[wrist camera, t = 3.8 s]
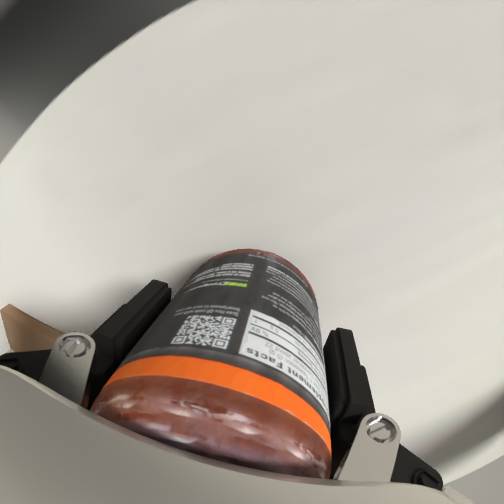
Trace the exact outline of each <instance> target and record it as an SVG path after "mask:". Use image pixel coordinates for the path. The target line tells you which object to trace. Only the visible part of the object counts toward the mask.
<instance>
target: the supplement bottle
mask: <svg viewBox="0 0 504 504" xmlns="http://www.w3.org/2000/svg"><path fill="white" fill-rule="evenodd" d="M90 411H91V412H93V413H95V414H97V415H99V416H101V417H103V418H105V419H107V420H109V421H111V422H113V423H115V424H118V425H120V426H122V427H124V428H126V429H129V430H131V431H133V432H136V433H138V434H141V435H143V436H146V437H148V438H151V439H153V440H156V441H159V442H161V443H164V444H167V445H169V446H172V447H175V448H178V449H181V450H184V451H187V452H190V453H194V454H197V455H200V456H204V457H207V458H211V459H214V460H218V461H222V462H226V463H230V464H234V465H238V466H243V467H247V468H252V469H257V470H262V471H268V472H273V473H279V474H286V475H293V476H301V477H310V478H320V479H330V474H331V463H332V459H331V439H330V418H329V407H328V394H327V383H326V373H325V364H324V355H323V345H322V337H321V328H320V321H319V313H318V307H317V303H316V298H315V294H314V292H313V289H312V287H311V285H310V284H309V282H308V281H307V279H306V278H305V276H304V275H303V274H302V273H301V272H300V271H299V270H298V269H297V268H296V267H295V266H294V265H292V264H291V263H290V262H289V261H287V260H285V259H284V258H282V257H280V256H278V255H276V254H274V253H270V252H265V251H261V250H255V249H237V250H233V251H228V252H224V253H222V254H219V255H217V256H215V257H213V258H211V259H210V260H208V261H207V262H206V263H204V264H203V265H202V266H201V267H200V268H199V269H198V270H197V271H196V272H195V273H194V274H193V275H192V276H191V277H190V279H189V280H188V281H187V282H186V283H185V284H184V286H183V287H182V288H181V289H180V290H179V292H178V293H177V294H176V295H175V297H174V298H173V299H172V300H171V302H170V303H169V304H168V305H167V307H166V308H165V309H164V310H163V311H162V313H161V314H160V315H159V317H158V318H157V319H156V320H155V321H154V322H153V324H152V325H151V326H150V328H149V329H148V330H147V331H146V332H145V334H144V335H143V336H142V337H141V339H140V340H139V341H138V343H137V344H136V345H135V346H134V348H133V349H132V350H131V351H130V353H129V354H128V355H127V356H126V358H125V359H124V360H123V362H122V363H121V364H120V366H119V367H118V368H117V370H116V371H115V372H114V374H113V375H112V376H111V378H110V379H109V380H108V382H107V383H106V384H105V386H104V387H103V388H102V390H101V392H100V394H99V395H98V397H97V398H96V399H95V401H94V403H93V405H92V407H91V409H90Z"/></svg>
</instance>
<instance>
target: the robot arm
mask: <svg viewBox="0 0 504 504" xmlns="http://www.w3.org/2000/svg"><path fill="white" fill-rule="evenodd" d="M171 293H172V290H171V288H168V284H167V283H164V282H161V281H158V280H152V281H151V282H150V283H149V284H148V285H147V286H145V287H144V288H143V289H142V290H141V291H140V292H139V293H138V294H137V295H136V296H135V297H134V298H132V299H131V300H130V301H129V302H128V303H127V304H124V305H122V306H121V307H120V308H119V309H118V310H117V311H116V312H115V313H114V314H113V315H112V316H111V317H110V318H108V319H107V320H106V321H105V322H104V323H103V324H102V325H101V326H100V327H99V328H98V329H97V330H96V331H95V332H94V333H93V334H92V335H91V336H89V335H87V334H85V333H81V332H69V333H66V334H63V335H61V336H60V337H59V338H58V339H57V340H56V341H55V343H54V346H53V348H52V349H47V350H36V351H24V352H10V353H5V354H3V355H1V356H0V504H475V503H474V502H472V501H471V500H469V499H467V498H466V497H464V496H463V495H461V494H460V493H458V492H457V491H455V490H454V489H452V488H451V487H449V486H446V487H445V488H444V487H443V481H442V478H441V476H440V474H439V473H438V472H437V471H436V470H435V469H433V468H432V467H431V466H429V465H428V464H427V463H425V462H424V461H422V460H421V459H420V458H418V457H417V456H416V455H414V454H413V453H412V452H410V451H409V450H408V449H406V448H405V447H404V446H402V445H401V444H400V443H399V442H400V437H401V431H400V428H399V426H398V424H397V423H396V422H395V421H394V420H393V419H392V418H391V417H389V416H387V415H384V414H380V413H375V408H374V403H373V399H372V395H371V390H370V386H369V382H368V377H367V373H366V369H365V367H364V366H362V365H360V361H359V357H358V353H357V349H356V345H355V341H354V337H353V333H352V330H348V329H343V328H337V329H336V330H331V331H330V333H329V336H328V338H327V341H326V343H325V345H324V348H323V355H324V364H325V373H326V383H327V394H328V407H329V418H330V439H331V459H332V463H331V474H330V479H320V478H310V477H301V476H293V475H286V474H279V473H273V472H268V471H262V470H257V469H252V468H247V467H243V466H238V465H234V464H230V463H226V462H222V461H218V460H214V459H211V458H207V457H204V456H200V455H197V454H194V453H190V452H187V451H184V450H181V449H178V448H175V447H172V446H169V445H167V444H164V443H161V442H159V441H156V440H153V439H151V438H148V437H146V436H143V435H141V434H138V433H136V432H133V431H131V430H129V429H126V428H124V427H122V426H120V425H118V424H115V423H113V422H111V421H109V420H107V419H105V418H103V417H101V416H99V415H97V414H95V413H93V412H91V411H90V409H91V407H92V405H93V403H94V401H95V399H96V398H97V397H98V395H99V394H100V392H101V390H102V388H103V387H104V386H105V384H106V383H107V382H108V380H109V379H110V378H111V376H112V375H113V374H114V372H115V371H116V370H117V368H118V367H119V366H120V364H121V363H122V362H123V360H124V359H125V358H126V356H127V355H128V354H129V353H130V351H131V350H132V349H133V348H134V346H135V345H136V344H137V343H138V341H139V340H140V339H141V337H142V336H143V335H144V334H145V332H146V331H147V330H148V329H149V328H150V326H151V325H152V324H153V322H154V321H155V320H156V319H157V318H158V317H159V315H160V314H161V313H162V311H163V310H164V309H165V308H166V307H167V305H168V304H169V303H170V302H171Z"/></svg>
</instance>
